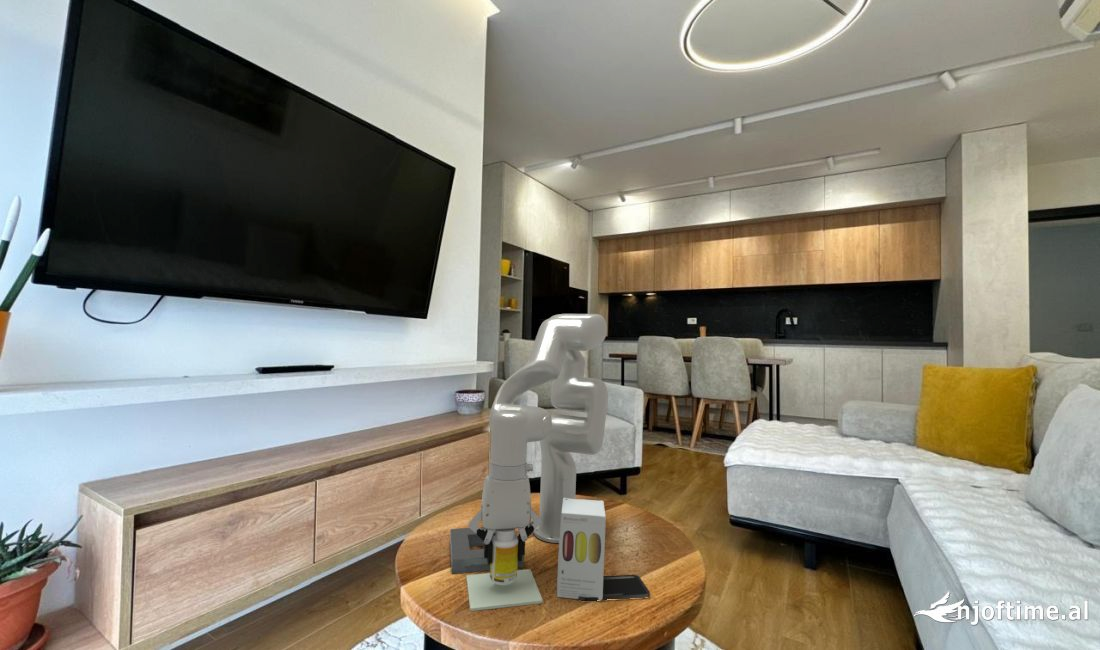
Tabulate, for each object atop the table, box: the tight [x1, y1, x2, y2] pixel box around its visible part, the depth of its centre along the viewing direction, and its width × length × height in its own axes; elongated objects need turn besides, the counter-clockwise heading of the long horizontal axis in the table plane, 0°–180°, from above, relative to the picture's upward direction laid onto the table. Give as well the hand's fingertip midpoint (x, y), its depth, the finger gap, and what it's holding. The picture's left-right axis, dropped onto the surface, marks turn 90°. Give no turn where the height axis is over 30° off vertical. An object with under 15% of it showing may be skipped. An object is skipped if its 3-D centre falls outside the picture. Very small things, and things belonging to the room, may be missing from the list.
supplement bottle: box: [489, 528, 518, 585], centre depth 89 cm, size 6×6×10 cm
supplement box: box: [556, 498, 607, 600], centre depth 91 cm, size 10×9×17 cm
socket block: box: [449, 526, 526, 575], centre depth 103 cm, size 16×16×3 cm
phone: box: [577, 574, 651, 602], centre depth 90 cm, size 8×1×15 cm
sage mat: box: [465, 568, 544, 612], centre depth 88 cm, size 14×12×1 cm
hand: (504, 558), depth 89 cm, fingers closed on supplement bottle, 5 cm apart
